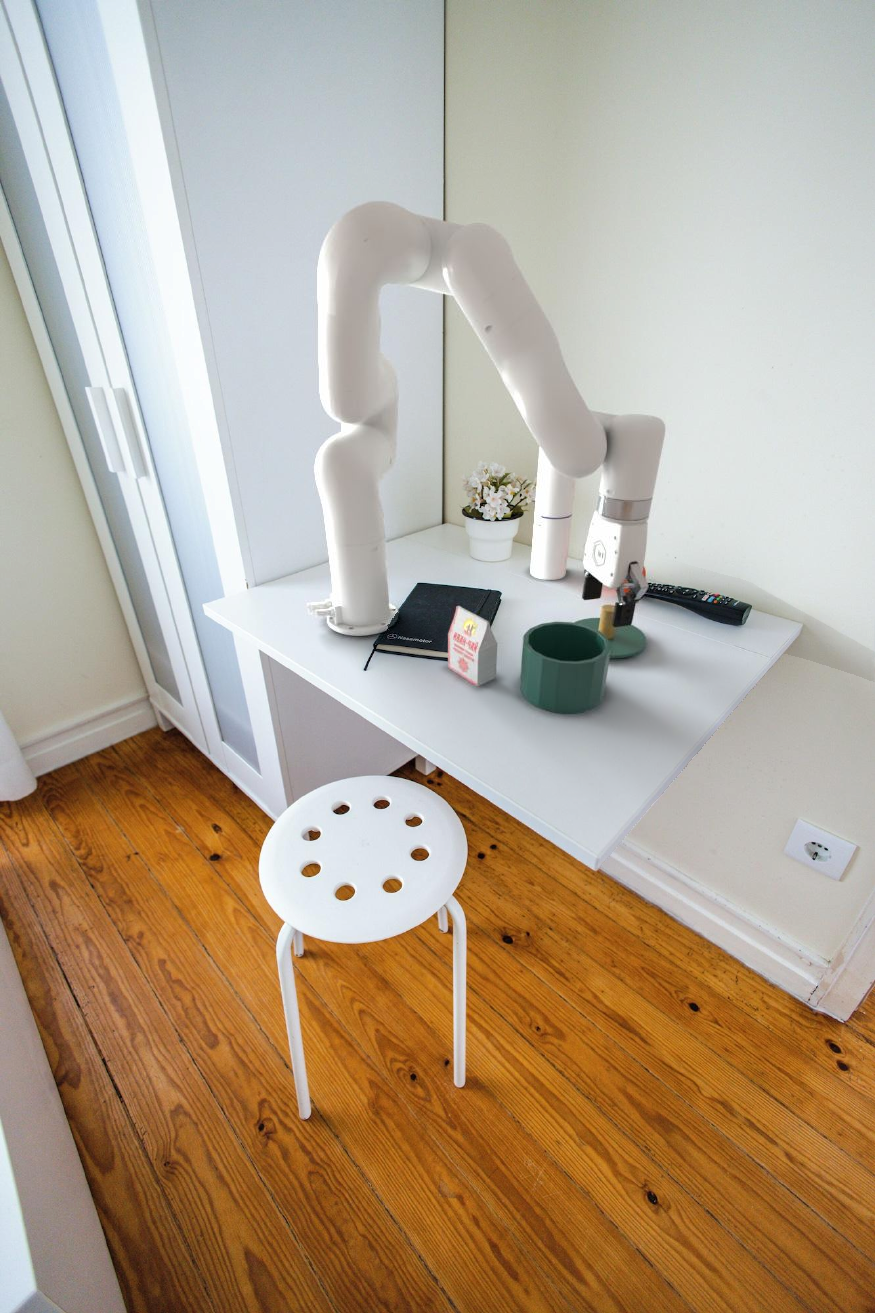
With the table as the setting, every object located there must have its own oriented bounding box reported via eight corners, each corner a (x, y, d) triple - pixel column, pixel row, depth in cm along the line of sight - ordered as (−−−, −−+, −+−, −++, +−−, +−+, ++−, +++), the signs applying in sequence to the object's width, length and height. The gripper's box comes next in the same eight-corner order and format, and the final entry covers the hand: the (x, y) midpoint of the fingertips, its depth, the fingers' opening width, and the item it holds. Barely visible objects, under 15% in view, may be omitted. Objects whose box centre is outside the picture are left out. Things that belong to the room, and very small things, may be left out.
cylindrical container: (555, 582, 119) (568, 453, 106) (524, 574, 123) (532, 448, 110) (571, 571, 124) (585, 446, 111) (540, 563, 128) (551, 441, 115)
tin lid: (588, 666, 92) (593, 631, 89) (552, 628, 103) (556, 596, 99) (661, 654, 95) (668, 620, 92) (619, 619, 105) (624, 587, 102)
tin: (539, 720, 80) (544, 669, 76) (508, 674, 90) (510, 627, 86) (618, 705, 83) (627, 656, 79) (579, 663, 93) (585, 617, 89)
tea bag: (466, 659, 94) (467, 602, 89) (495, 677, 90) (498, 618, 84) (448, 667, 92) (448, 609, 87) (477, 686, 88) (478, 626, 82)
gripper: (573, 491, 93) (560, 592, 102) (632, 527, 79) (611, 640, 88) (616, 488, 95) (600, 587, 104) (681, 523, 81) (656, 634, 90)
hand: (605, 611), depth 96 cm, fingers open, 9 cm apart
